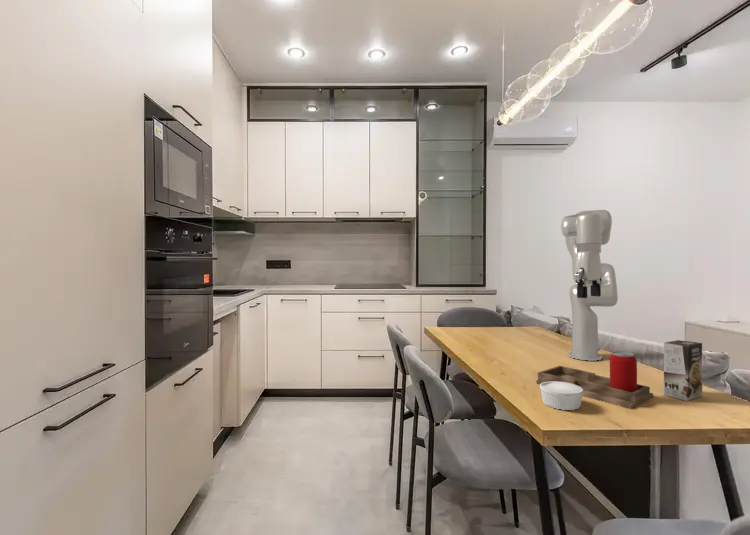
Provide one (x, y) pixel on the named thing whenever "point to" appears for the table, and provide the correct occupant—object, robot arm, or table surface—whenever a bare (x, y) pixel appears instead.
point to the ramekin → (561, 395)
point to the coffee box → (683, 369)
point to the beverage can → (623, 371)
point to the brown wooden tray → (596, 386)
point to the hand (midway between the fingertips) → (589, 297)
